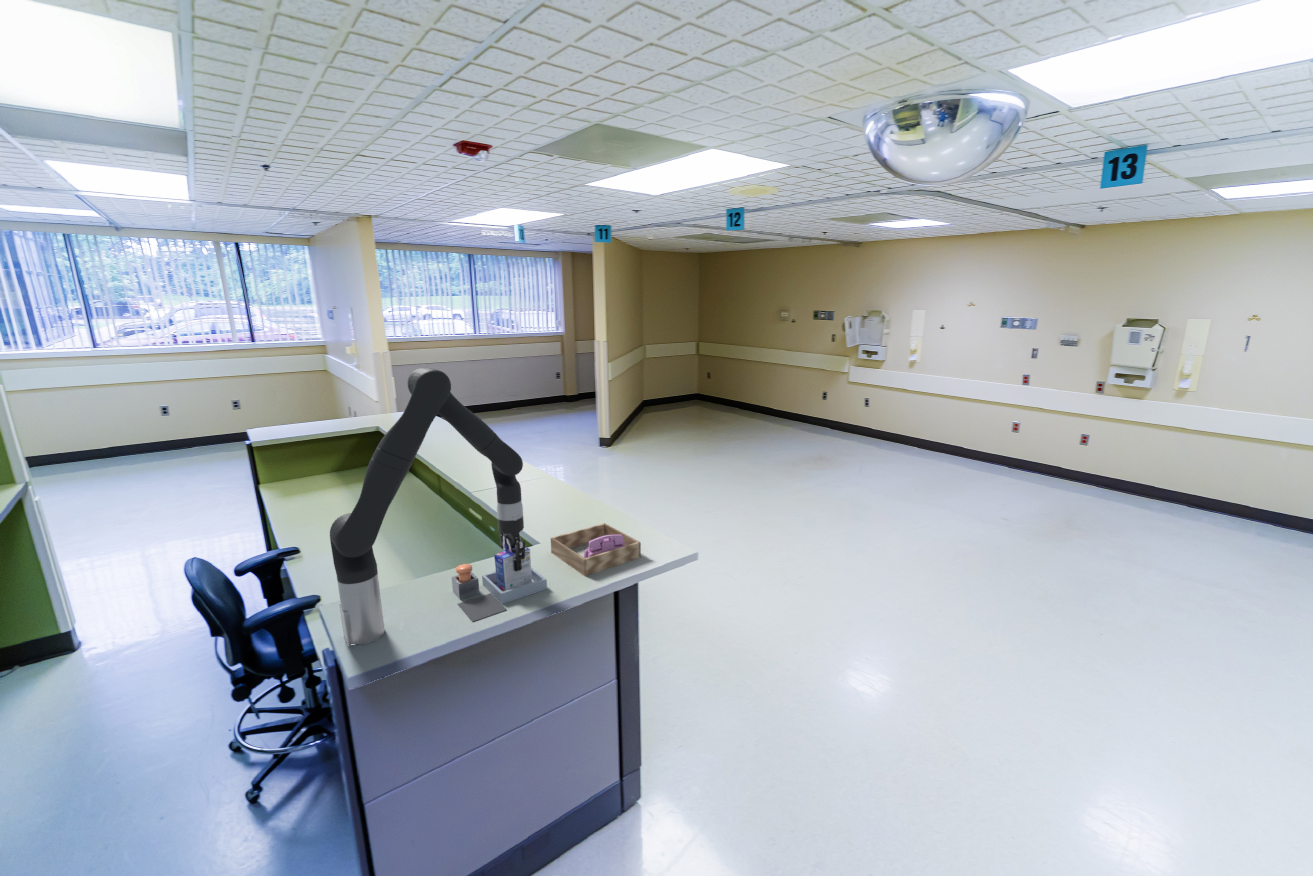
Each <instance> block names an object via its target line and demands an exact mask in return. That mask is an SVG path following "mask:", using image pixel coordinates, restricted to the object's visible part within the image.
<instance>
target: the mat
mask: <svg viewBox="0 0 1313 876" xmlns="http://www.w3.org/2000/svg"><path fill="white" fill-rule="evenodd" d="M457 606H458V607H459V608H460V609H461V610H462V612H463V613H464V614H465V615H466V616H467V617H468V618H469V620H470V621H471V623H473V622H475V623H476V622H478V621H480V620H483V619H487V618H488V617H492V616H494V615H497V614H501V613H504V612H506V611H508V609H507V608H506V606H504V604H501V603H500V602H499V601H498V600H497V599H496V598H495V597H494V596H493V595H492V594H491V593H490V592H489V593H488V594H483V595H480V596H477V597H475V598H472V599H468V600H465V601H462V602H458V603H457Z"/></svg>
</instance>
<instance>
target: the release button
mask: <svg viewBox="0 0 1313 876" xmlns="http://www.w3.org/2000/svg"><path fill="white" fill-rule="evenodd" d="M472 571H473V565H472V564H470V563H463V564H459V565H458V566H456V567H455V572H456V574H458V575H459V582H460V583H461V582H464V581H468V580H471V573H470V572H472Z"/></svg>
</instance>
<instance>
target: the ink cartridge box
mask: <svg viewBox="0 0 1313 876" xmlns="http://www.w3.org/2000/svg"><path fill="white" fill-rule="evenodd" d="M504 546H505V551H500V552H498V553H495V554H494V565H495V566H494V567H495V572H496V579H497V582H496V586H497V587H498V588H499V589H500V590H501V591H502V592H504V591H507V590H510V589H513V588H516V587H519V586H523V585H526V584H529V583H532V582H533V580H532V575H531V567H532V563H531V561H532V558H531V549H530V548H529V547H526V546H525V559H521V566H522V569H521V570H520V571H514V563H513V560H514V559H513V555H512V553H510V550H509V548H508V549H507V547H508V545H507V544H504ZM515 549H516V548H513V550H515ZM515 555H516V552H515Z"/></svg>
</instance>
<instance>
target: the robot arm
mask: <svg viewBox="0 0 1313 876" xmlns="http://www.w3.org/2000/svg"><path fill="white" fill-rule="evenodd" d="M407 389H408V391H409V393H410V395H411V396H410V397H409V400H408V401H407V402H408V403H407V405H406V407H405V409H404V411H403V413H402V414H401V415H400V417H399V419H398V420H397V421H396V422H395V423H394V424H393V425H392V426H391V427H390V429H389V430H388V431H387V432H386V433H385V434H384V435H383V437H382V438H381V440H380V442H379V443H378V444H377V447H376V448H375V450H374V452H373V454H372V456H371V458H370V460H369V462H368V465H367V468H366V471H365V475H364V478H363V483H362V487H361V492H360V496H359V498H358V501H357V502H356V505H354V508H353V510H352V511H351V512H348V513H345V514H343V515H340V516H338V517H337V518H336V519H335V520H334V521H333V522H332V524H331V526H330V528H329V540H330V546H331V553H332V554H331V555H332V560H333V561H332V562H333V566H334V570H335V574H336V580H337V588H338V595H339V601H340V603H339V612H340V619H341V626H342V633H343V637H345V638H344V640H346V641H345V642H347V643H346V645H347V644H348V645H351V644H364V645H368V644H370V643H373V642H375V641H377V640H379V639H380V638H382V636H383V635H384V634H385V622H384V615H383V605H382V597H381V587H380V581H379V580H380V579H379V571H378V563H377V560H376V557H375V554H374V549H373V546H374V544H375V542H376V540H377V538H378V536H379V535H378V534H379V532H380V530H381V527H382V524H383V522H384V519H385V517H386V514H387V512H388V509H389V507H390V506H391V504H392V502H393V500H394V499H395V497H396V494H397V492H398V491H399V489H400V487H401V485H402V483H403V481H404V480H405V479H406V478H405V477H406V476H407V474H408V472H409V471H410V469H411V467H412V465H413V463H414V461H415V458H416V456H417V454H418V452H419V450H420V448H421V446H422V444H423V442H424V440H425V437H426V435H427V433H428V431H429V429H430V427H431V425H432V423H433V422H434V420H435V418H436V417H437V416H439V415H440V416H441V418H443V419H445V421H446V422H448V424H449V425H451V426H452V427H453V428H454V429H455V431H457V433H458V434H460V435H461V436H462V438H463V439H465V440H466V442H468V443H469V444H470V445H471V446H472V447H473V449H475V450H476V451H477V452H478V453H479V454H481V455H482V456H483V457H486V458H487V459H488V460H489V461H490V462H491V471H492V476H493V480H494V482H495V483H494V484H495V486H496V502H497V503H496V504H497V506H496V517H497V529H498V535H499V543H500V548H501V549H502V550H503V551H505V546H504V544H507V545H508V547H507V549H508V548H509V550H510V553H512V555H513V559H514V560H513V563H514V571H520V570H521V569H522V566H521V559H525V547H526V541H525V540H521V536H520V532H522V531H523V530H524V528H525V527H524V526H525V523H524V507H523V503H522V487H521V484H520V482H519V481H518V479H517V478H516V476H517V475H518V474H520V473H521V471H522V470H523V466H524V462H523V458H522V457H521V456H520V454H519V453H518V452H517V451H516V450H514V449H513V448H512V447H511V446H510V445H508V444H507V443H506V442H505V441H503V439H501V438H500V437H499V435H497V433H496V432H495V431H494V430H493V429H492V428H491V427H490V426H489V425H488V424H487V423H486V422H485V421H483V420H482V419H481V418H480V417H479V416H478V415H476V414H475V413H474V412H473V411H471V410H470V409H468V408H467V407H466V406H465V405H464V404H462V402H460V401H459V400H458V399H457V398H456V396H454V395H453V394H452V383H451V380H450V378H449V376H448V375H447V373H445V372H444V371H442V370H440V369H436V368H431V367H420V368H417V369H415V370H414V371H412V372H411V373H410V375H409V376H408V378H407ZM513 548H516V549H515V550H513ZM503 551H502V552H503ZM515 552H516V555H515ZM348 645H347V646H348Z"/></svg>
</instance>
